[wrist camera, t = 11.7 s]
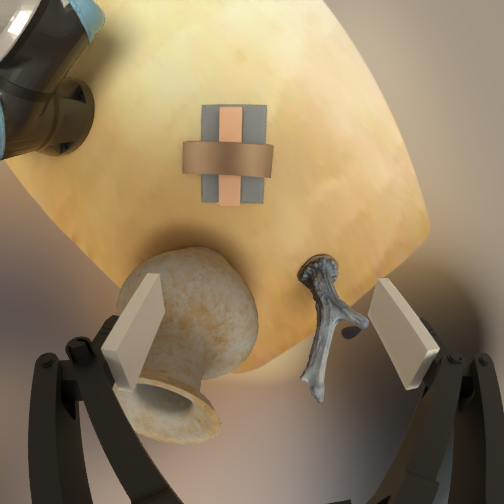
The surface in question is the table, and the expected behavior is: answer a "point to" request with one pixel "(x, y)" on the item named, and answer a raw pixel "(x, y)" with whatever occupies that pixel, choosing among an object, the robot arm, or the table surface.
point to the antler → (324, 317)
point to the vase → (188, 343)
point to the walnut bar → (227, 158)
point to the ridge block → (233, 130)
